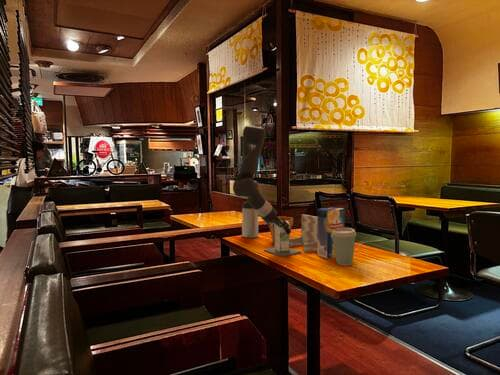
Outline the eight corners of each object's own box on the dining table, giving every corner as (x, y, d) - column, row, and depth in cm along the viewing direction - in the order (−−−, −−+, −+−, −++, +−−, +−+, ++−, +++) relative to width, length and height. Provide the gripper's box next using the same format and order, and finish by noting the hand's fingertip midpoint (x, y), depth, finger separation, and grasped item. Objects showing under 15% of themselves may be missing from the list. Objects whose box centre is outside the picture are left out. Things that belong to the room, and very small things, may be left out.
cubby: (286, 246, 185) (286, 216, 184) (303, 243, 192) (302, 214, 190) (305, 252, 173) (305, 220, 172) (322, 248, 180) (322, 217, 179)
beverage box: (344, 254, 168) (344, 208, 166) (327, 258, 162) (327, 210, 160) (334, 251, 174) (334, 207, 172) (317, 255, 168) (317, 209, 166)
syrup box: (284, 248, 178) (283, 219, 177) (290, 251, 173) (289, 221, 172) (274, 249, 176) (273, 220, 175) (279, 252, 170) (279, 222, 169)
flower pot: (264, 239, 203) (264, 217, 202) (287, 237, 207) (287, 215, 206) (272, 245, 189) (272, 221, 188) (297, 243, 193) (297, 219, 192)
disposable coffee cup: (352, 268, 146) (352, 232, 145) (327, 264, 152) (327, 230, 151) (359, 262, 155) (359, 228, 154) (335, 259, 161) (335, 226, 160)
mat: (264, 251, 177) (264, 249, 177) (282, 247, 184) (282, 246, 184) (281, 257, 165) (281, 255, 165) (301, 253, 172) (301, 251, 172)
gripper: (279, 205, 163) (298, 227, 170) (260, 203, 174) (279, 223, 182) (269, 218, 160) (289, 240, 167) (252, 214, 172) (271, 235, 179)
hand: (284, 231), depth 174 cm, fingers open, 8 cm apart
